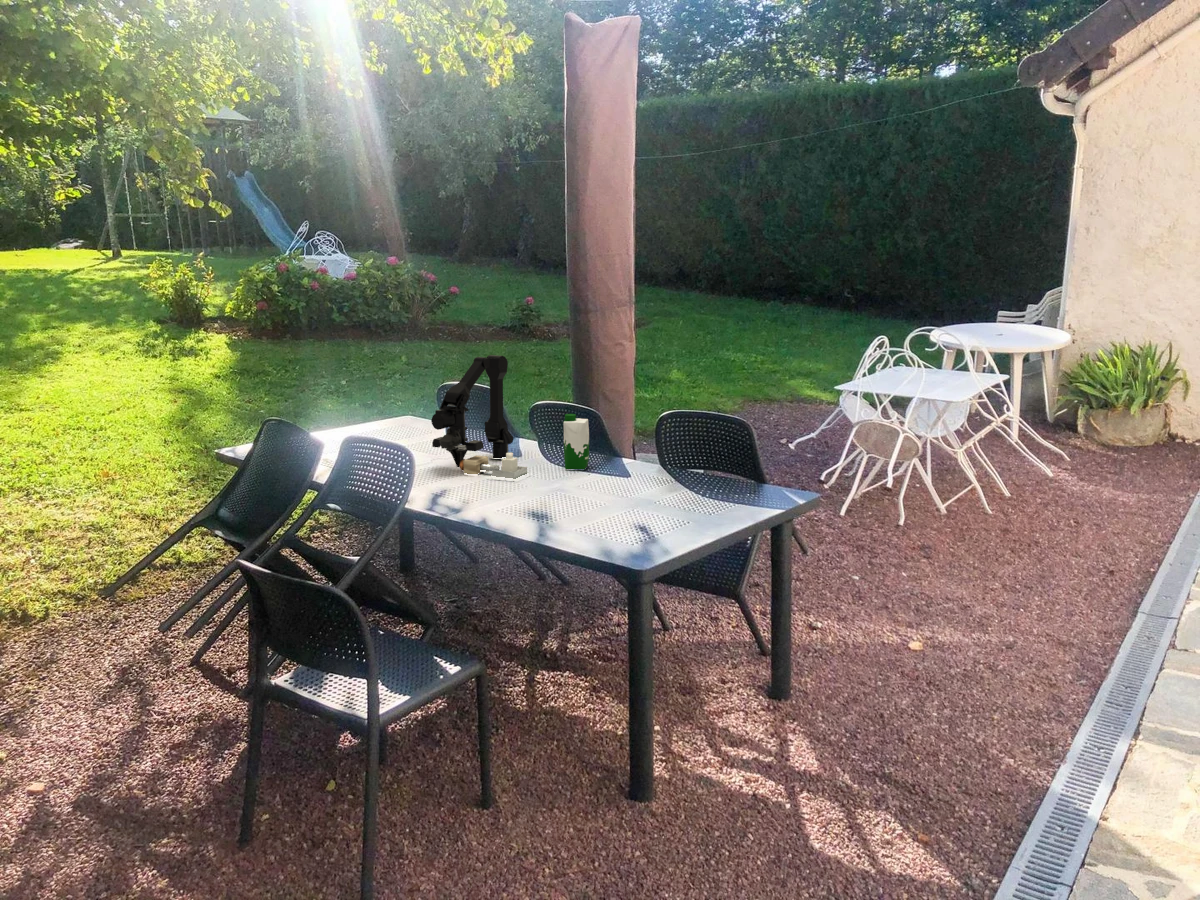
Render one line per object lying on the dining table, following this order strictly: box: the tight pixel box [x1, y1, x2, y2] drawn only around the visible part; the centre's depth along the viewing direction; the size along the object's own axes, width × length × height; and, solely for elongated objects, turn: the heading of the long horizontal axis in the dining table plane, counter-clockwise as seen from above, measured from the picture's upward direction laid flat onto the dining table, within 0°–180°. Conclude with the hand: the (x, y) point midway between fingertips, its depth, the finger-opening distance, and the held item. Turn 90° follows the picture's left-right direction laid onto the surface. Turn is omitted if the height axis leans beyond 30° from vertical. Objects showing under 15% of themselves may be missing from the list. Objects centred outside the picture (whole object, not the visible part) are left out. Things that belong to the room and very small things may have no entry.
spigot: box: [501, 451, 519, 472], centre depth 336 cm, size 4×4×8 cm
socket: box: [491, 465, 528, 479], centre depth 336 cm, size 12×12×3 cm
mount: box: [463, 455, 489, 474], centre depth 342 cm, size 9×5×5 cm, turn 155°
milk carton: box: [563, 413, 590, 470], centre depth 346 cm, size 9×9×20 cm
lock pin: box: [459, 458, 501, 472], centre depth 341 cm, size 4×15×4 cm, turn 65°
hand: (458, 467), depth 345 cm, fingers closed
